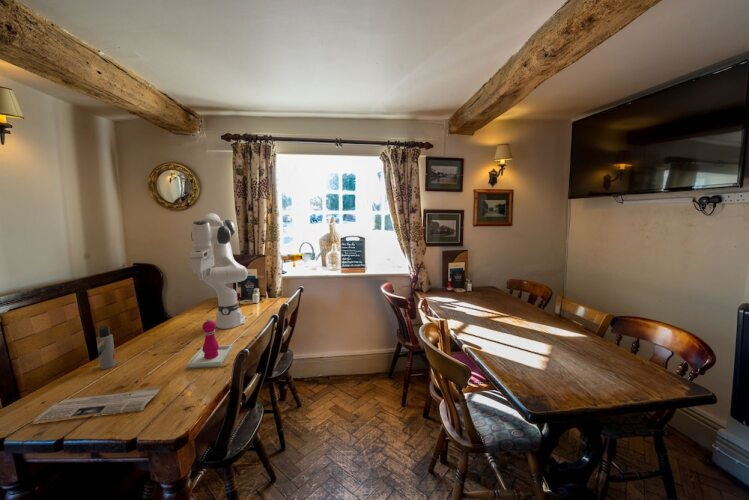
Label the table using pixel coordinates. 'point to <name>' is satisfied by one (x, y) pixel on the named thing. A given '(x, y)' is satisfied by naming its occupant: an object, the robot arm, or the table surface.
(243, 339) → the table surface
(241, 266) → the robot arm
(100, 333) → the lotion bottle
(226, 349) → the tray
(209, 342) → the pepper mill
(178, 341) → the table surface
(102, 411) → the newspaper
